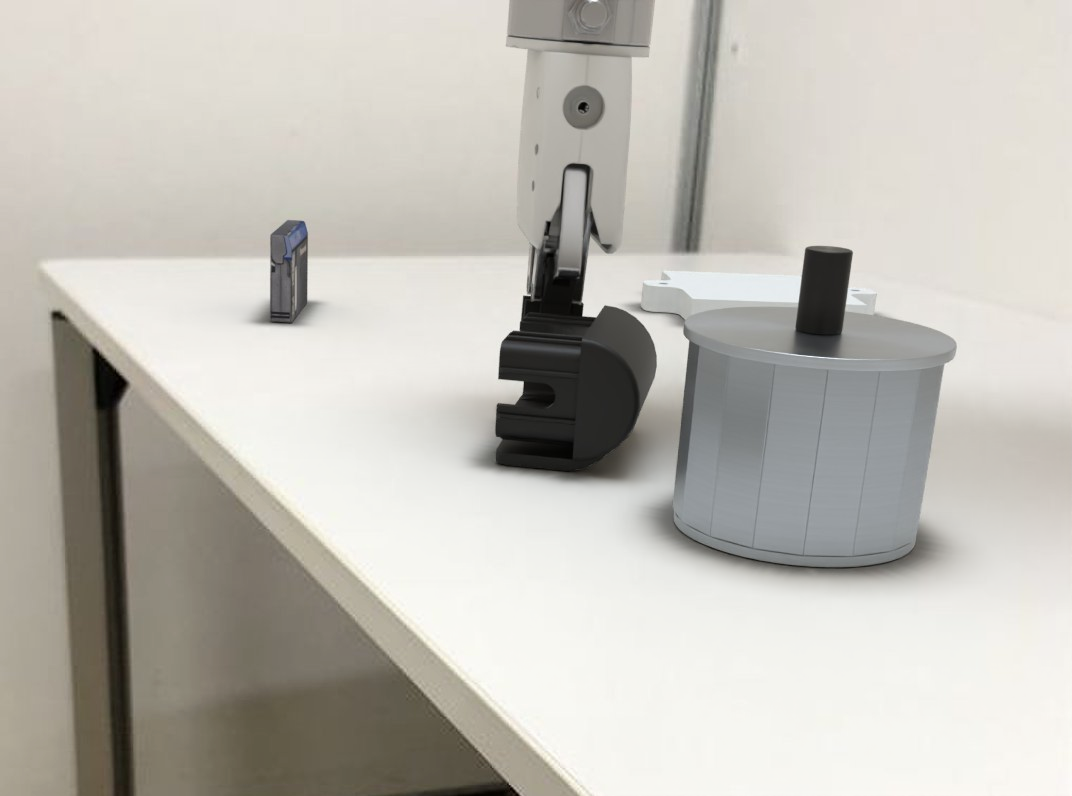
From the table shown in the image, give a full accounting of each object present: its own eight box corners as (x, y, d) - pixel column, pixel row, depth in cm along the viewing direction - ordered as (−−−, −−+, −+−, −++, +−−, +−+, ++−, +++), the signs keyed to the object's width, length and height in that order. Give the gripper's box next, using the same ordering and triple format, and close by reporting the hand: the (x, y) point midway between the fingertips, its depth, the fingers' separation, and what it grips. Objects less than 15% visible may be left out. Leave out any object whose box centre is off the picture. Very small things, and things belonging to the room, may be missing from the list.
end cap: (633, 480, 80) (645, 344, 77) (491, 466, 81) (499, 332, 78) (651, 432, 89) (662, 308, 86) (523, 420, 90) (531, 298, 88)
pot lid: (901, 333, 76) (916, 234, 75) (994, 390, 66) (1014, 275, 64) (659, 326, 76) (668, 225, 74) (713, 382, 65) (726, 266, 63)
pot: (871, 496, 79) (897, 322, 76) (950, 570, 69) (984, 373, 66) (653, 491, 78) (670, 315, 75) (700, 565, 68) (722, 365, 65)
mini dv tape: (291, 323, 113) (292, 235, 111) (270, 322, 113) (270, 234, 111) (307, 302, 121) (308, 220, 119) (287, 301, 121) (287, 219, 119)
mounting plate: (847, 301, 132) (850, 277, 131) (896, 332, 120) (900, 306, 119) (628, 293, 131) (630, 269, 130) (656, 324, 119) (658, 297, 118)
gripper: (677, 32, 77) (633, 407, 84) (628, 24, 91) (594, 347, 98) (521, 20, 77) (490, 398, 84) (496, 15, 91) (471, 339, 98)
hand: (546, 370), depth 91 cm, fingers closed
